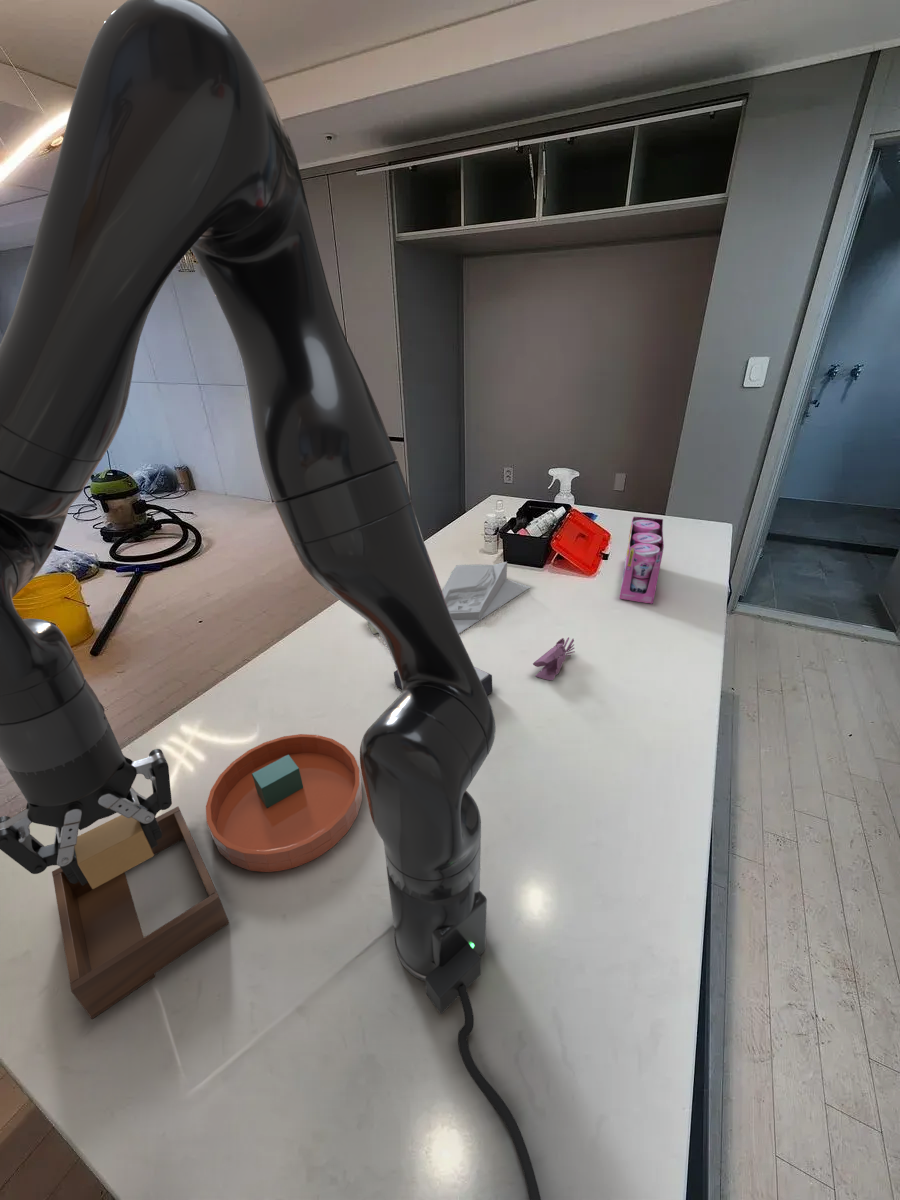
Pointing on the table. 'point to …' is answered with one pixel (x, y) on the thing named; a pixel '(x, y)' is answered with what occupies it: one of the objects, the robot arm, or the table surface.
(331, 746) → the bowl
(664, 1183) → the table surface
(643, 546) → the gum box
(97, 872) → the tan rectangular block
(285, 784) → the teal rectangular block
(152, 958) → the holder
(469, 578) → the ramp
